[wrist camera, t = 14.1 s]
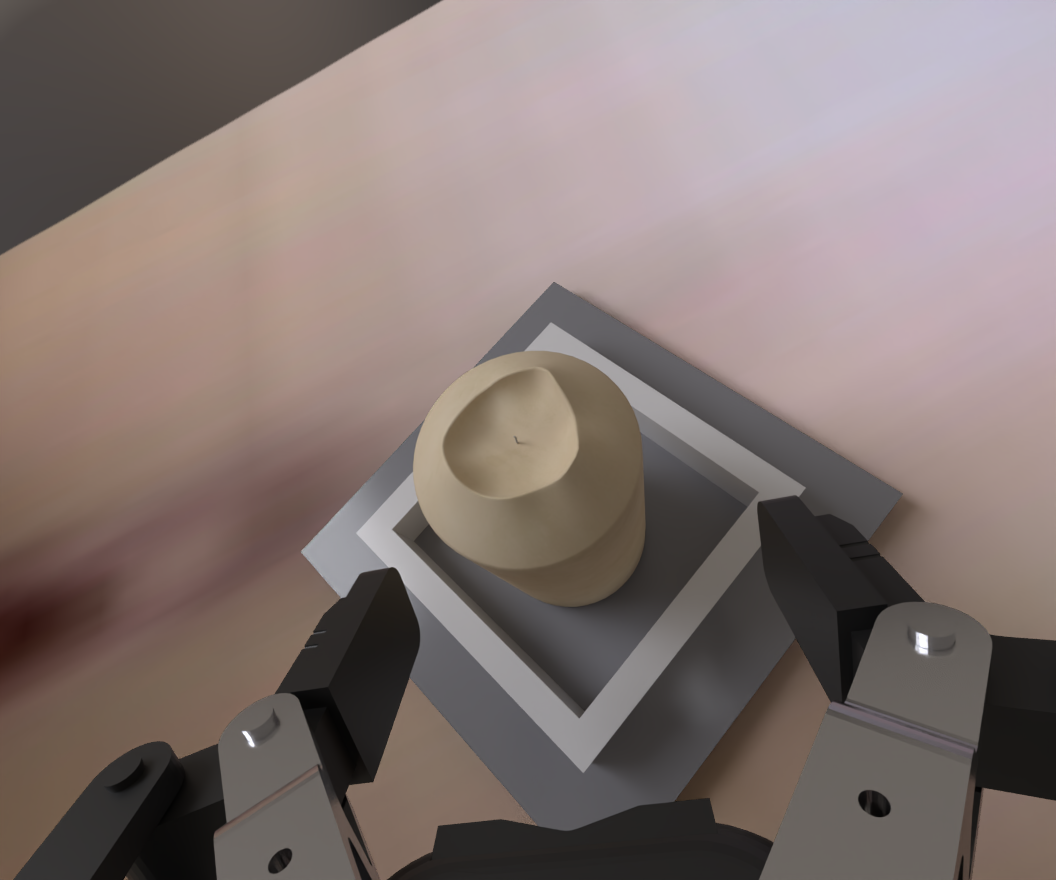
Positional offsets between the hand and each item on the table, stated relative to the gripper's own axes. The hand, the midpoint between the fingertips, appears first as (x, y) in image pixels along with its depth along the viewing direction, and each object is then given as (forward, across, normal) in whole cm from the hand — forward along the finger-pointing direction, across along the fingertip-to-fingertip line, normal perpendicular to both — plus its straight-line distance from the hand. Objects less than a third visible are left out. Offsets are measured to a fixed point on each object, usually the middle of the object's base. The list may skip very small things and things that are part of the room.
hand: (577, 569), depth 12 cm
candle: (+8, -1, -4) cm, 9 cm away
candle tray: (+9, -1, -4) cm, 10 cm away
